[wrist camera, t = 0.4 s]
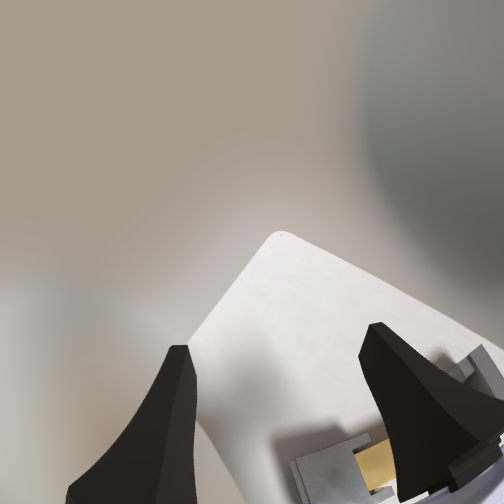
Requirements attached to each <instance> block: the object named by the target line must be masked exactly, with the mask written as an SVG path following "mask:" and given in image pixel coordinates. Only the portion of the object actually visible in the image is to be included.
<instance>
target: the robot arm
mask: <svg viewBox="0 0 504 504" xmlns="http://www.w3.org/2000/svg"><path fill="white" fill-rule="evenodd" d="M358 358H359V361H360V364H361V368H362V371H363V374H364V377H365V380H366V382H367V384H368V386H369V389H370V391H371V393H372V395H373V397H374V400H375V402H376V404H377V406H378V409H379V411H380V413H381V416H382V418H383V421H384V423H385V426H386V430H387V434H388V437H389V441H390V445H391V450H392V454H393V459H394V465H395V471H396V481H397V496H398V499H399V502H400V503H402V502H405V501H407V500H409V499H412V498H414V497H416V496H418V495H420V494H422V493H424V492H426V491H428V493H429V496H428V497H426V498H424V499H422V500H420V501H418V502H416V503H414V504H503V503H504V444H503V445H502V446H501V447H499V445H498V444H499V443H501V438H500V435H502V434H503V433H504V400H501V399H498V398H494V397H492V396H489V395H486V394H484V393H482V392H479V391H477V390H475V389H473V388H471V387H469V386H467V385H465V384H463V383H461V382H459V381H458V380H456V379H454V378H453V377H451V376H450V375H448V374H446V373H445V372H443V371H442V370H441V369H439V368H438V367H436V366H435V365H434V364H432V363H431V362H430V361H428V360H427V359H426V358H424V357H423V356H422V355H421V354H419V353H418V352H417V351H416V350H415V349H413V348H412V347H411V346H410V345H409V344H407V343H406V342H405V341H404V340H403V339H402V338H400V337H399V336H398V335H397V334H396V333H395V332H393V331H392V330H391V329H390V328H389V327H387V326H386V325H385V324H384V323H382V322H379V323H374V324H369V327H368V330H367V333H366V336H365V339H364V342H363V344H362V347H361V350H360V353H359V355H358ZM196 407H197V376H196V373H195V369H194V366H193V363H192V359H191V356H190V352H189V348H188V345H172V346H171V347H170V348H169V351H168V353H167V355H166V357H165V360H164V362H163V364H162V366H161V368H160V371H159V372H158V375H157V377H156V378H155V380H154V383H153V384H152V386H151V388H150V390H149V392H148V394H147V395H146V397H145V399H144V400H143V402H142V404H141V405H140V407H139V409H138V410H137V412H136V414H135V415H134V417H133V418H132V420H131V421H130V423H129V424H128V425H127V427H126V428H125V429H124V431H123V432H122V433H121V435H120V436H119V437H118V439H117V440H116V441H115V442H114V444H113V445H112V446H111V447H110V448H109V449H108V451H107V452H106V453H105V454H104V455H103V456H102V457H101V458H100V459H99V460H98V461H97V462H96V463H95V464H94V465H93V466H92V467H91V468H90V469H89V470H88V471H87V472H85V473H84V474H83V475H82V476H81V477H80V478H78V479H77V480H76V481H75V482H73V483H72V484H71V485H70V486H69V487H68V491H67V495H66V503H65V504H197V497H196V487H195V476H194V459H193V446H194V432H195V419H196Z"/></svg>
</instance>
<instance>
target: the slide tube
mask: <svg viewBox="0 0 504 504" xmlns="http://www.w3.org/2000/svg"><path fill="white" fill-rule="evenodd" d="M354 456H355V458H356V461H357V463H358V466H359V468H360V471H361V473H362V475H363V478H364V480H365V483H366V485H367V488H368V490H369V491H371V490H373V489H375V488H377V487H379V486H381V485H383V484H385V483H387V482H389V481H391V480H393V479H394V478H396V471H395V465H394V459H393V454H392V450H391V445H390V441H389V438H388V439H386V440H384V441H382V442H380V443H378V444H376V445H374V446H372V447H370V448H368V449H366V450H364V451H361V452H359V453H357V454H355V455H354Z"/></svg>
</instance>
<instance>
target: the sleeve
mask: <svg viewBox="0 0 504 504" xmlns="http://www.w3.org/2000/svg"><path fill="white" fill-rule="evenodd" d="M370 442H371V438H370V436H369V434H368V432H366V433H364V434H362V435H359V436H357V437H355V438H353V439H350V440H346V441H343V442H341V443H338V444H336V445H333V446H331V447H328V448H325V449H323V450H320V451H317V452H314V453H311V454H308V455H305V456H302V457H299V458H295V460H291V461H290V467H291V470H292V473H293V476H294V479H295V482H296V485H297V488H298V491H299V494H300V497H301V499H302V502H303V504H378V503H380V502H382V501H384V500H386V499H388V498H390V497H391V496H393V495H395V494H394V491H393V489H392V487H391V486H388V487H381V488H375V489H373V490H371V491H369V490H368V488H367V485H366V483H365V480H364V478H363V475H362V473H361V471H360V468H359V466H358V463H357V461H356V458H355V456H354V454H353V453H354V452H356V451H358V450H360V449H362V448H363V447H364V446H366V445H367V444H368V443H370Z"/></svg>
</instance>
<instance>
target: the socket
mask: <svg viewBox="0 0 504 504" xmlns="http://www.w3.org/2000/svg"><path fill="white" fill-rule="evenodd" d="M448 375H450V376H451V377H453V378H454V379H456V380H458V381H459V382H461V383H463V384H465V385H467V386H469V387H471V388H473V389H475V390H477V391H479V392H482V393H484V394H486V395H489V396H492V397H494V398H498V399H501V400H504V378H503V376H502V374H501V373H500V371H499V370H498V368H497V366H496V365H495V363H494V362H493V360H492V359H491V357H490V356H489V354H488V353H487V351H486V350H485V348H484V347H483V345H482V344H481V345H480V346H478V347H477V348H476V349H475V350H473V351H472V352H471V353H469V354H468V356H467V357H465V358H464V359H463V360H461V361H460V362H459V363H457V364H456V366H455V367H454V368H453V369H452V370H451V371H450V372H449V373H448Z"/></svg>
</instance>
